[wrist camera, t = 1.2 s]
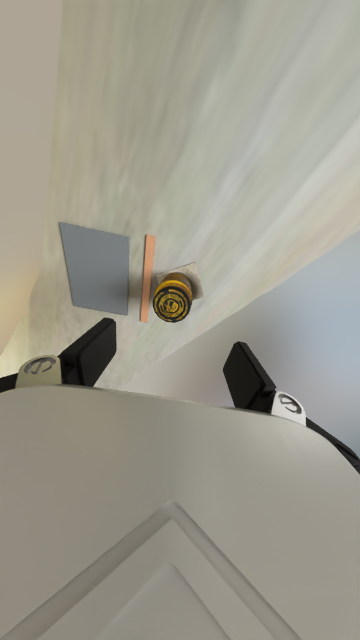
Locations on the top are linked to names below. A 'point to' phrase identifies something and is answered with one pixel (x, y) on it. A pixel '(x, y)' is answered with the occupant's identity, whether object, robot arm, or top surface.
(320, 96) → the top surface
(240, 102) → the top surface
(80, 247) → the mat
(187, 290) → the condiment
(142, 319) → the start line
